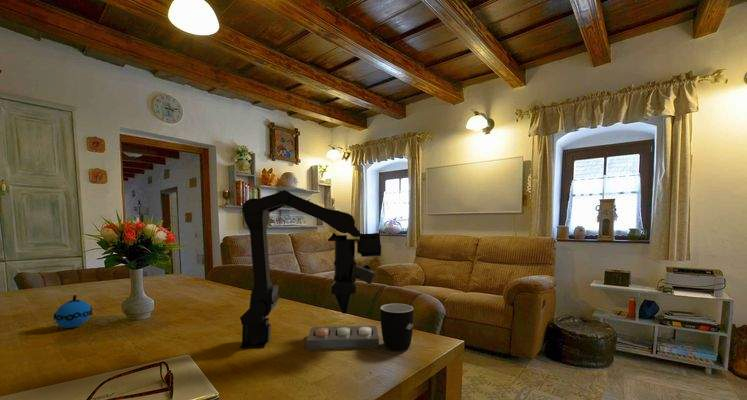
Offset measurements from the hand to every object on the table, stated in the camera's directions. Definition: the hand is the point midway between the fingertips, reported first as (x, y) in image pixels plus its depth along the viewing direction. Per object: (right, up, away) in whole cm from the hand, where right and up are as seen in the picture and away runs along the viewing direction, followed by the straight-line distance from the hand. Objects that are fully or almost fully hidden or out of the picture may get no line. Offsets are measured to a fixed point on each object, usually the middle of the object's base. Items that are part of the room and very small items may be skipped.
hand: (344, 313), depth 87 cm
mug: (+15, -8, -3) cm, 17 cm away
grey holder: (0, -8, -1) cm, 8 cm away
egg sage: (0, -7, -1) cm, 7 cm away
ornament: (-87, -9, +11) cm, 88 cm away
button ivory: (+6, -7, 0) cm, 9 cm away
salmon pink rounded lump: (-6, -7, -1) cm, 10 cm away
